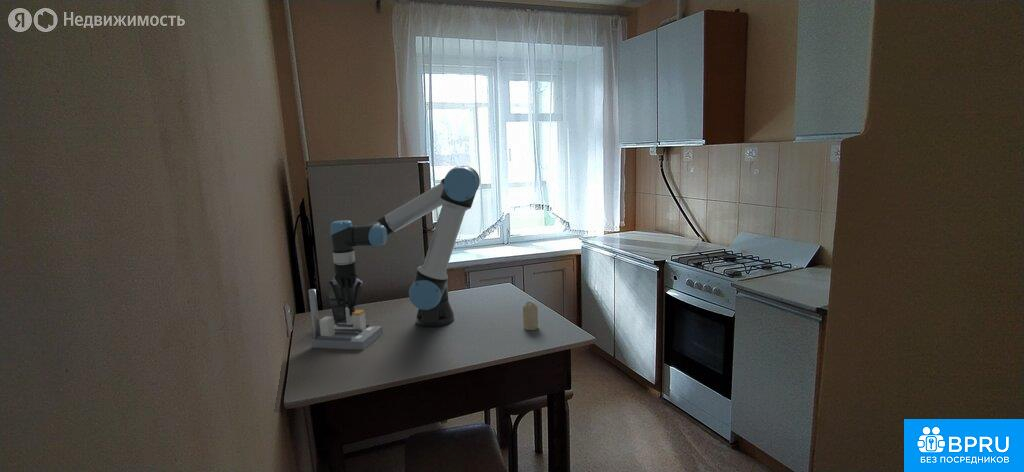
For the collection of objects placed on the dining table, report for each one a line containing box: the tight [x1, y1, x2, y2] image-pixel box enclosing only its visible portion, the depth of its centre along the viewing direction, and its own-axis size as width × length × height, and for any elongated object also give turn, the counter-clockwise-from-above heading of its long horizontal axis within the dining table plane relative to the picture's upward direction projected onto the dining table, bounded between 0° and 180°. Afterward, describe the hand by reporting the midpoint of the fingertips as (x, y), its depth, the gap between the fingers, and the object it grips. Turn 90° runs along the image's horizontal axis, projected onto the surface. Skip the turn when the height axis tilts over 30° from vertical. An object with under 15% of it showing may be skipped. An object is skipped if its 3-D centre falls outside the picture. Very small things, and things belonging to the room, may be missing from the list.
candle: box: [522, 301, 539, 331], centre depth 181 cm, size 6×6×10 cm
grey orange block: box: [352, 309, 367, 330], centre depth 179 cm, size 3×4×7 cm
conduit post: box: [308, 288, 321, 339], centre depth 171 cm, size 2×2×18 cm
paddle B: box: [319, 315, 335, 337], centre depth 173 cm, size 3×4×7 cm
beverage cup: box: [328, 276, 347, 325], centre depth 193 cm, size 7×7×20 cm
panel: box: [311, 323, 384, 351], centre depth 176 cm, size 20×15×4 cm
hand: (350, 323), depth 180 cm, fingers closed
